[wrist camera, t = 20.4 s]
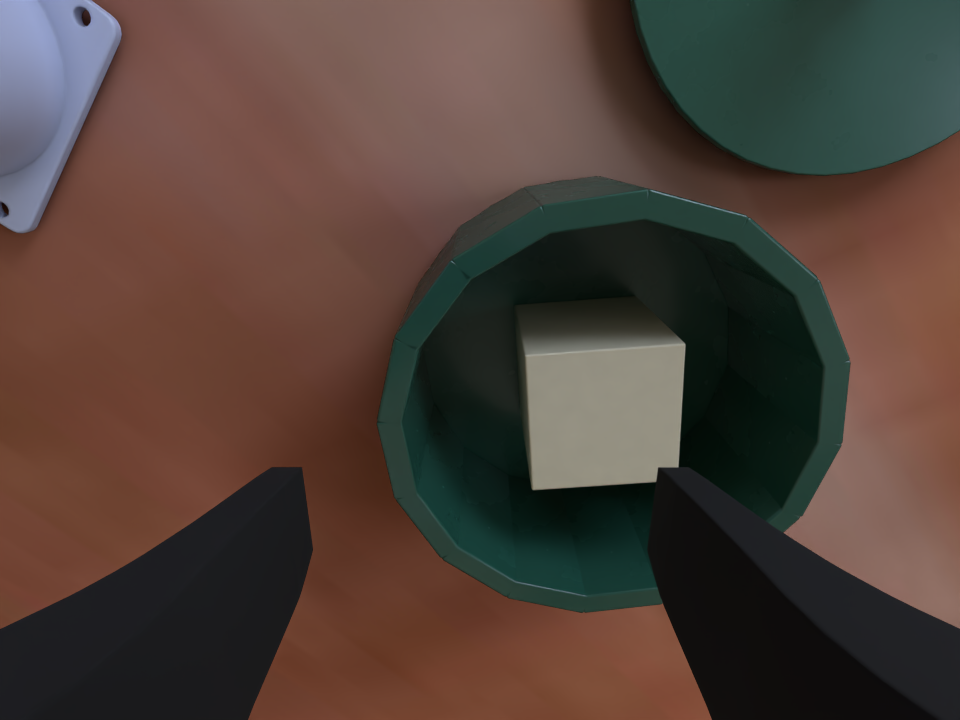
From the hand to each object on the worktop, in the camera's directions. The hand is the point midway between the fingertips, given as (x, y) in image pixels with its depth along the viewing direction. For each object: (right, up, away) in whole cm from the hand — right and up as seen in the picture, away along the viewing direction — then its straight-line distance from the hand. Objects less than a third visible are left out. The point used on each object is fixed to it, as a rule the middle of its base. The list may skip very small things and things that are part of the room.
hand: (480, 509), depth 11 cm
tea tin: (+4, +3, +10) cm, 11 cm away
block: (+4, +3, +10) cm, 11 cm away
